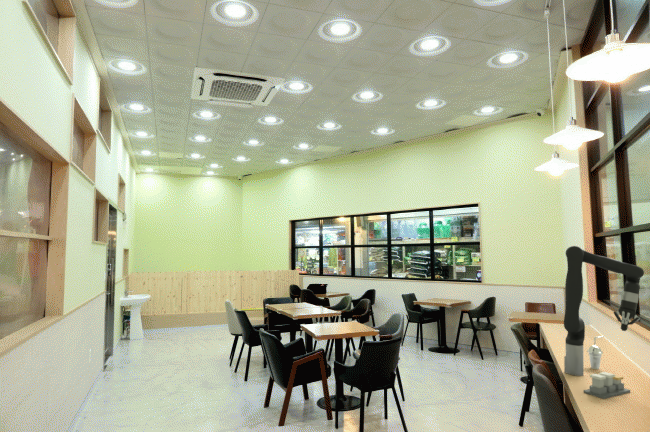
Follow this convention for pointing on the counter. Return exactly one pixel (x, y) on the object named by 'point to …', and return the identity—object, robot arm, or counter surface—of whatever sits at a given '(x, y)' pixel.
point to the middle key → (608, 378)
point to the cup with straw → (595, 355)
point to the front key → (597, 380)
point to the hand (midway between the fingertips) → (623, 330)
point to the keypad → (607, 391)
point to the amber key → (617, 379)
